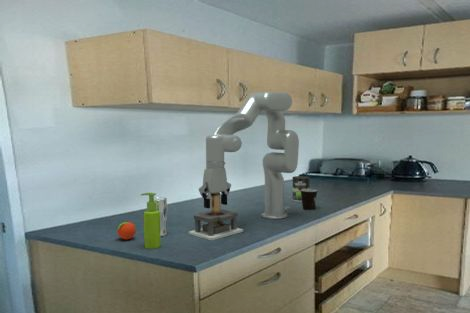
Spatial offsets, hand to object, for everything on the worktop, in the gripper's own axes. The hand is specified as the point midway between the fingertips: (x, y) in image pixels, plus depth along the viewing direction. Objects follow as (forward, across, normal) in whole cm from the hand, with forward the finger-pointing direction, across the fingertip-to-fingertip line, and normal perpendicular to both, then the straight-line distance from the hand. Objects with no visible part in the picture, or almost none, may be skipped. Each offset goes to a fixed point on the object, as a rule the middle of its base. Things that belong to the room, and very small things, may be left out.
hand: (215, 206), depth 160 cm
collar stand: (+11, 0, 0) cm, 11 cm away
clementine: (+11, +31, -19) cm, 38 cm away
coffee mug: (+11, -65, +1) cm, 66 cm away
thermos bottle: (+10, 0, 0) cm, 10 cm away
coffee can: (+11, -84, -16) cm, 86 cm away
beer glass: (+11, +18, -15) cm, 26 cm away
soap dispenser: (+11, +29, -4) cm, 31 cm away
